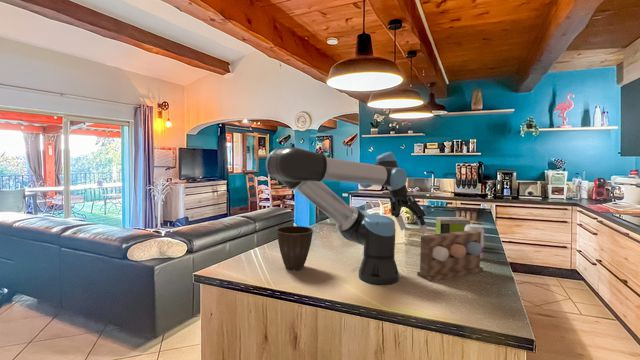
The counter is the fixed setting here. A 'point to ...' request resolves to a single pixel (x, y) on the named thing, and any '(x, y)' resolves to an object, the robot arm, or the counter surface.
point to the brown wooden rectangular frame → (452, 265)
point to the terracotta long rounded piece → (457, 250)
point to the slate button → (474, 248)
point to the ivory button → (440, 253)
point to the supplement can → (480, 229)
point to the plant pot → (294, 245)
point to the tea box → (450, 224)
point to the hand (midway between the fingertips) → (413, 230)
